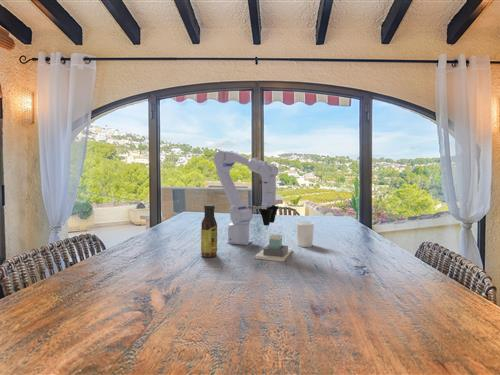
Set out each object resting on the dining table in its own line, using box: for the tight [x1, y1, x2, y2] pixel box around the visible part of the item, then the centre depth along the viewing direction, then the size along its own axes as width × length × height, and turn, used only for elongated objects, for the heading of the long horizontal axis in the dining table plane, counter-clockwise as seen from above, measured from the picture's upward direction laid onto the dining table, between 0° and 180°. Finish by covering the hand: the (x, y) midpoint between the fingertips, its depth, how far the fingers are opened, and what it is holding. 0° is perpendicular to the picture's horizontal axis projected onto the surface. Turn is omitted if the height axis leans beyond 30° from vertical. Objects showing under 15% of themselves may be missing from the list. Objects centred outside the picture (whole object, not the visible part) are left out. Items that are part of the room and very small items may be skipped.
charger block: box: [268, 233, 283, 250], centre depth 119 cm, size 4×4×7 cm
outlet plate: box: [254, 244, 294, 262], centre depth 122 cm, size 11×16×4 cm
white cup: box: [295, 221, 315, 248], centre depth 136 cm, size 8×8×10 cm
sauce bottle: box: [200, 204, 218, 258], centre depth 119 cm, size 7×6×20 cm
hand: (269, 223), depth 131 cm, fingers open, 7 cm apart
